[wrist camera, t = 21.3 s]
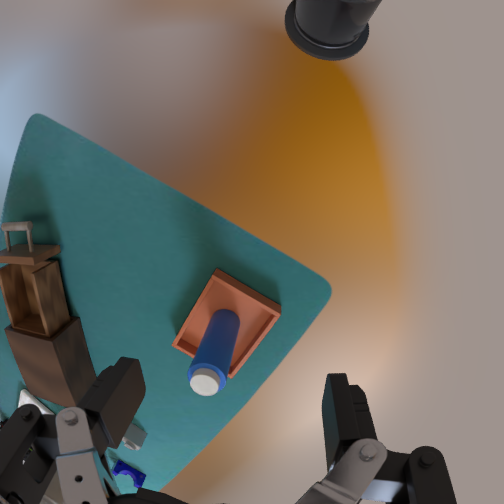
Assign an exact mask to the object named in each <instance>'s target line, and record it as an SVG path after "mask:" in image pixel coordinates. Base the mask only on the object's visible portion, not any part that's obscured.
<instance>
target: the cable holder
mask: <svg viewBox="0 0 504 504" xmlns="http://www.w3.org/2000/svg"><path fill="white" fill-rule="evenodd" d="M111 470H112V473H113V474H114V475H115V476H116V475H118V474H124V475H127V474H129V475H130V476H131V477H132V478H133V480H134V486H135V487H137V488H139V487H142V485H143V482H144V480H145V477H146V475H145V474H143V473H141V472H139V471H137V470H136V469H134V468H132V467H130V466H129V465H127V464H125V463H124V462H122V461H120V460H117V461H116V462H115V463H114V465H113V467H112V469H111Z"/></svg>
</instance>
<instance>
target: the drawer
mask: <svg viewBox="0 0 504 504" xmlns="http://www.w3.org/2000/svg"><path fill="white" fill-rule="evenodd" d="M1 228H2V230H3V231H5V232H4V233H5V240H6V246H7V248H6V249H4V250H2V251H0V263H10V264H8V265H6V266H3V267H1V268H0V286H1V290H2V294H3V298H4V301H5V305H6V309H7V312H8V315H9V319H10V322H11V325H12V329H15V330H19V331H23V332H26V333H30V334H34V335H38V336H42V337H46V338H50V339H51V338H53V337H54V336H55V335H56V334H57V333H58V332H59V331H60V330H62V329H63V328H64V327H65V326H66V325H67V324H69V323H70V322H71V320H70V316H69V312H68V308H67V304H66V299H65V295H64V290H63V285H62V280H61V275H60V270H59V264H58V261H56V260H46V259H48V258H50V257H52V256H54V255H56V254H58V253H60V252H61V250H60V245H33V241H32V234H31V230H32V228H33V223H32V222H31V221H23V222H5V223H3V224H2V226H1ZM9 231H27V239H28V244H16V245H13V246H11V244H10V238H9Z"/></svg>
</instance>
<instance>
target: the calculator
mask: <svg viewBox="0 0 504 504" xmlns="http://www.w3.org/2000/svg"><path fill="white" fill-rule="evenodd" d="M24 404H34V405H36V406H38V407H39V409H40V411H41V413H42V414H52V415H55V414H54V413H53V412H52V411H50V410H49V409H48V408H47V407H46V406H44V405H43V404H42V403H41V402H40V401H39V400H37V399H36V398H35V397H34V396H33V395H32V394H30V392H28V391H27V390H26V389H23V390H22V391H21V393H20V399H19V406H18V407H20V406H21V405H24Z"/></svg>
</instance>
